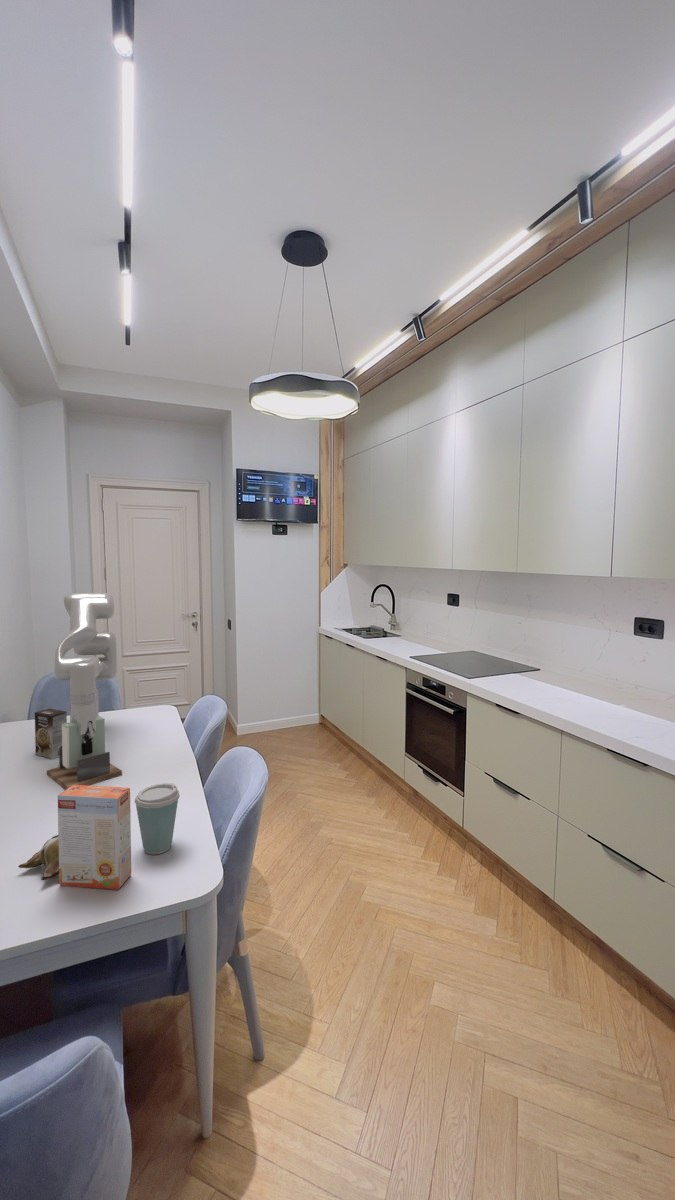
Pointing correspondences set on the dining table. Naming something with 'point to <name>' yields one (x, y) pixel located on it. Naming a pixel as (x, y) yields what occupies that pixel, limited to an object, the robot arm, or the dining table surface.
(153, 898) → the dining table surface
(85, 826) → the cracker box
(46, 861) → the ceramic sculpture
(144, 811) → the disposable coffee cup
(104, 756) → the bookshelf board
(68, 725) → the book
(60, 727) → the coffee box
